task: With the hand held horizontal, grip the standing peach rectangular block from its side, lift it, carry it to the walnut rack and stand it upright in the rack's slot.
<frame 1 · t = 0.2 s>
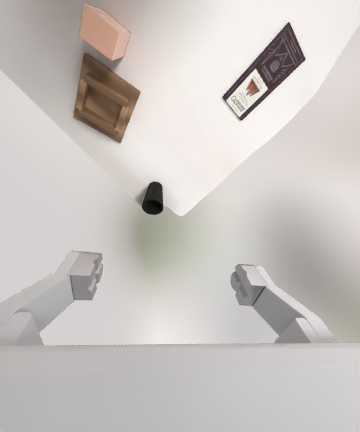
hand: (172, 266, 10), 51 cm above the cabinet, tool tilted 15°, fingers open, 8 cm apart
rack: (106, 104, 48), on the cabinet
cup: (155, 187, 69), on the cabinet
chocolate bar: (260, 78, 44), on the cabinet
peach rectangular block: (114, 34, 38), on the cabinet
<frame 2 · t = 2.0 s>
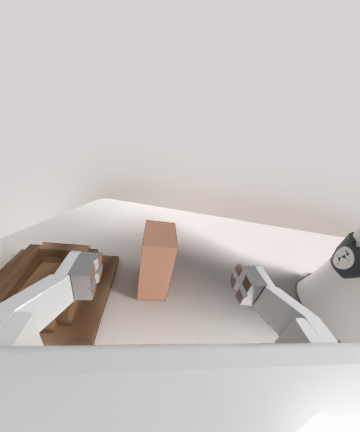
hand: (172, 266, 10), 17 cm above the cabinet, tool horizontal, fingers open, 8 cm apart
rack: (51, 291, 25), on the cabinet
peach rectangular block: (152, 284, 29), on the cabinet
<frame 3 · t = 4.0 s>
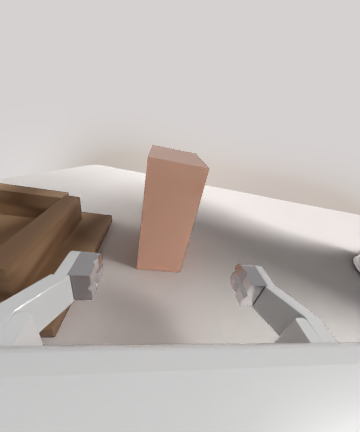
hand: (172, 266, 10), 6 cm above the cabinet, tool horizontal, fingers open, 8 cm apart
rack: (0, 251, 15), on the cabinet
peach rectangular block: (159, 250, 20), on the cabinet
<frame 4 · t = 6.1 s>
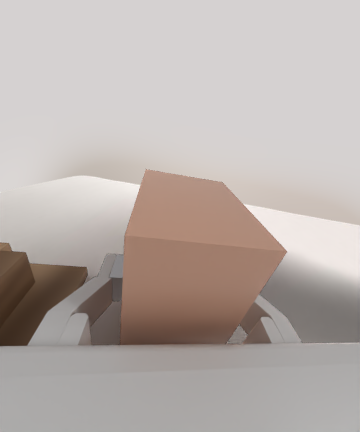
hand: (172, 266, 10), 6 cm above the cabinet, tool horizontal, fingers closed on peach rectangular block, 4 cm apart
peach rectangular block: (158, 334, 12), on the cabinet, touching gripper
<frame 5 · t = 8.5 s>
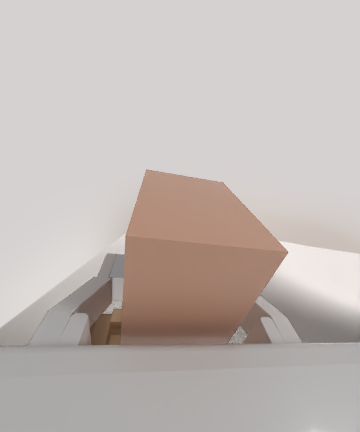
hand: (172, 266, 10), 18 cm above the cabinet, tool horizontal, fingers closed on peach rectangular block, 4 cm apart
rack: (134, 386, 18), on the cabinet
peach rectangular block: (159, 334, 12), point 11 cm above the cabinet, touching gripper
when the fingers open (8 cm above the cabinet, at t = 10.8 s): peach rectangular block stays where it is, resting on rack.
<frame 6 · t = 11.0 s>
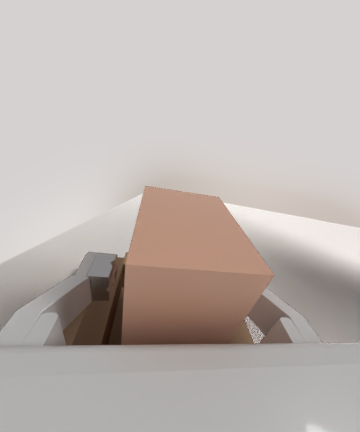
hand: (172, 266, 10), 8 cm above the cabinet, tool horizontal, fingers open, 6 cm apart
rack: (155, 347, 13), on the cabinet
peach rectangular block: (158, 341, 13), point 1 cm above the cabinet, touching rack
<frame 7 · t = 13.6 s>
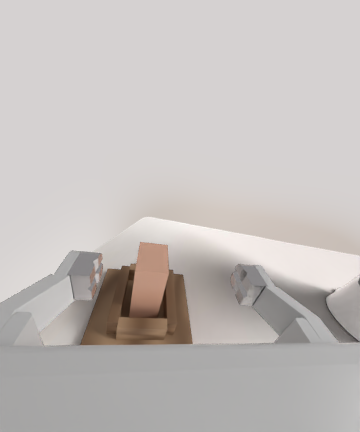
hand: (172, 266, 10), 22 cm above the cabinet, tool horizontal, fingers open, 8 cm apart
rack: (143, 305, 31), on the cabinet
peach rectangular block: (144, 302, 30), point 1 cm above the cabinet, touching rack
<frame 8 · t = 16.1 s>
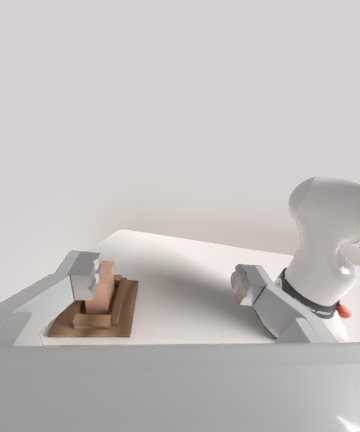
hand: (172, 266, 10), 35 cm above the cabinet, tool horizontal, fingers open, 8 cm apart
rack: (101, 305, 41), on the cabinet
peach rectangular block: (101, 302, 41), point 1 cm above the cabinet, touching rack
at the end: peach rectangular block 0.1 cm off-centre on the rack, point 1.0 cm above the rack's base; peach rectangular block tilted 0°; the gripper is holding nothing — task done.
